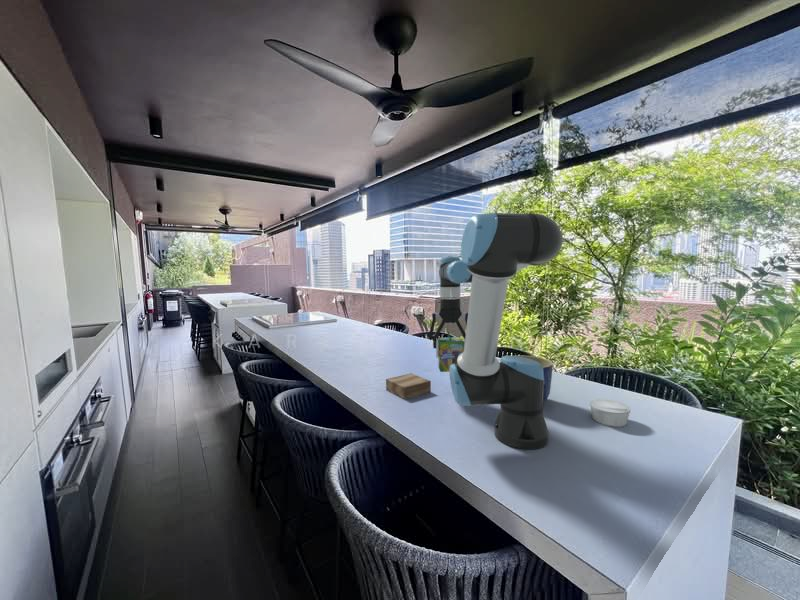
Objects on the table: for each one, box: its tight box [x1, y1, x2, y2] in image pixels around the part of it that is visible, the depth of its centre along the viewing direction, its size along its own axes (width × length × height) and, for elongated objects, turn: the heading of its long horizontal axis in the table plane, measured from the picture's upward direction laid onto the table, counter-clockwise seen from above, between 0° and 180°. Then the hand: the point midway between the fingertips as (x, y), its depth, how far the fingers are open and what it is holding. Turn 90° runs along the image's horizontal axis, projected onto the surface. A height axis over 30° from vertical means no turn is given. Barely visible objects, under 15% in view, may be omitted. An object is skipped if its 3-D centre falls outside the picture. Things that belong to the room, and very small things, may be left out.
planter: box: [517, 355, 554, 403], centre depth 127 cm, size 17×17×15 cm
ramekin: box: [589, 398, 631, 428], centre depth 110 cm, size 11×11×5 cm
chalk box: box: [437, 329, 464, 373], centre depth 131 cm, size 9×9×15 cm
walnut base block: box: [385, 372, 432, 400], centre depth 140 cm, size 13×13×5 cm
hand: (450, 356), depth 131 cm, fingers closed on chalk box, 9 cm apart
